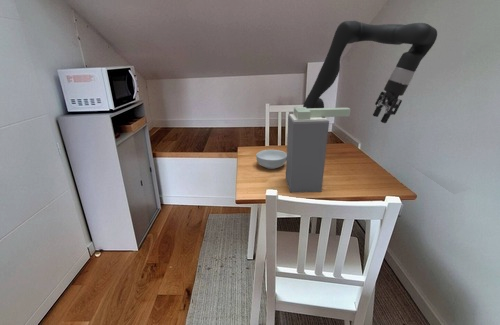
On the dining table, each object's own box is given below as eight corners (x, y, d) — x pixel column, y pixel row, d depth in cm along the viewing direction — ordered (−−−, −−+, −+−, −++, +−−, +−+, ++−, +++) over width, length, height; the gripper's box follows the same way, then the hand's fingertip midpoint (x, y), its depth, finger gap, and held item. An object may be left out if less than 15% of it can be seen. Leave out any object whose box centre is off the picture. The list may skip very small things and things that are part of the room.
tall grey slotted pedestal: (313, 177, 120) (319, 112, 108) (321, 191, 107) (329, 119, 95) (285, 178, 120) (288, 113, 108) (290, 192, 107) (293, 120, 95)
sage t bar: (343, 113, 106) (344, 106, 104) (352, 118, 96) (353, 110, 95) (293, 114, 106) (293, 107, 105) (297, 119, 97) (298, 112, 95)
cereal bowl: (291, 163, 137) (291, 151, 135) (279, 174, 124) (279, 162, 121) (264, 158, 145) (264, 147, 143) (250, 168, 132) (250, 156, 130)
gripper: (382, 76, 102) (364, 112, 109) (398, 81, 89) (377, 122, 97) (399, 80, 102) (380, 116, 110) (417, 87, 90) (394, 127, 97)
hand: (378, 119), depth 103 cm, fingers open, 8 cm apart
